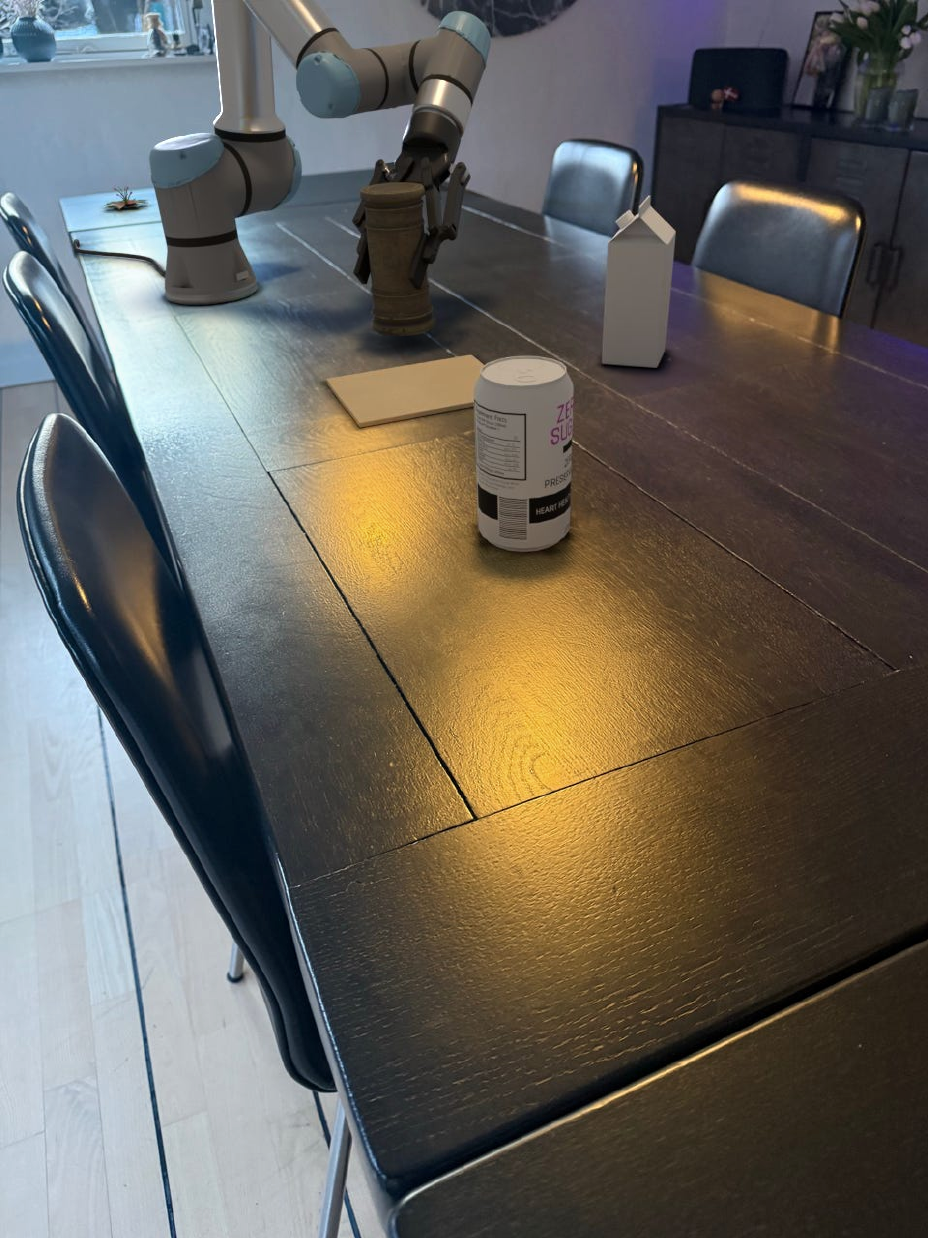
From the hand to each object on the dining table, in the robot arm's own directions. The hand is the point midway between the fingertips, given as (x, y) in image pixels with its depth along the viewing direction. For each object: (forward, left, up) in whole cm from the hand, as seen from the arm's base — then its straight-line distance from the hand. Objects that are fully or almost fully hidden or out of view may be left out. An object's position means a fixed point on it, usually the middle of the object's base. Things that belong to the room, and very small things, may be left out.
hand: (386, 280), depth 119 cm
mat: (+17, -2, -9) cm, 19 cm away
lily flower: (-137, -27, -9) cm, 140 cm away
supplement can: (+55, -5, -9) cm, 56 cm away
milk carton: (+19, +27, -9) cm, 35 cm away
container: (-2, +3, -7) cm, 8 cm away
